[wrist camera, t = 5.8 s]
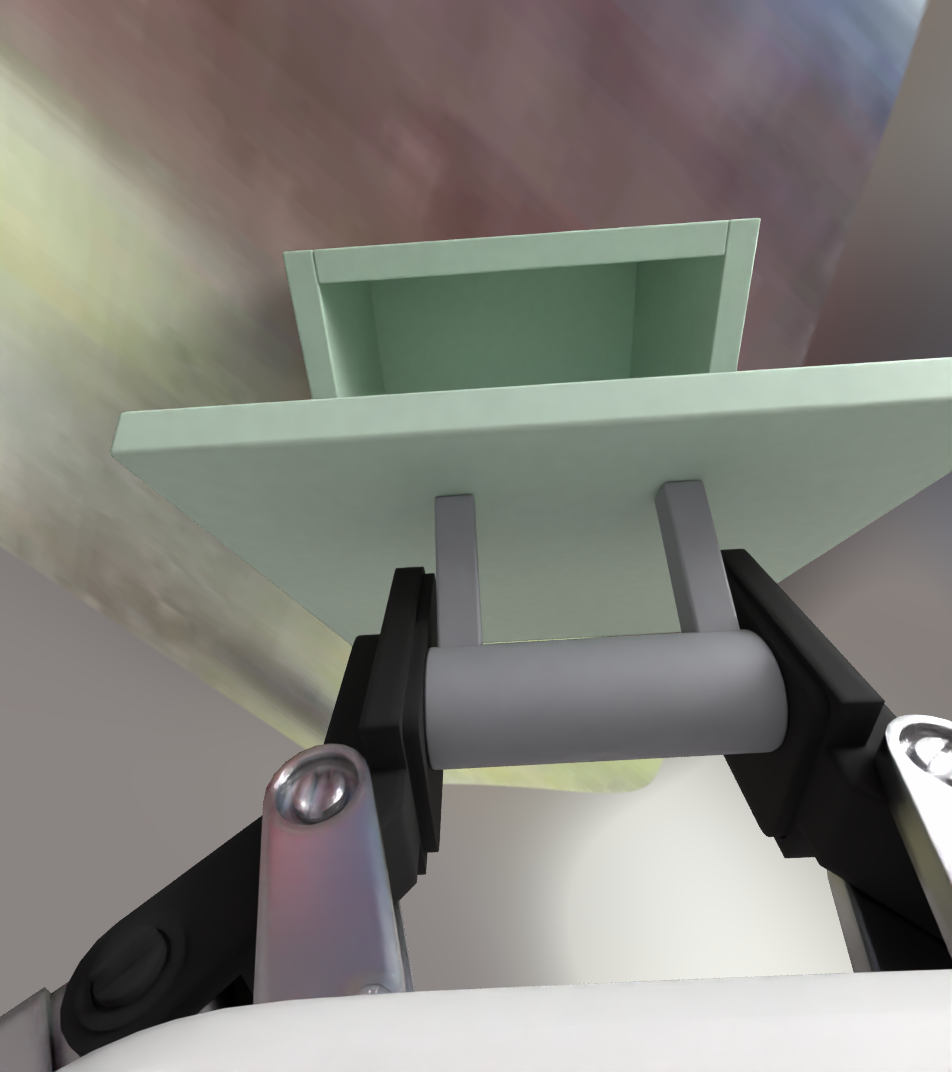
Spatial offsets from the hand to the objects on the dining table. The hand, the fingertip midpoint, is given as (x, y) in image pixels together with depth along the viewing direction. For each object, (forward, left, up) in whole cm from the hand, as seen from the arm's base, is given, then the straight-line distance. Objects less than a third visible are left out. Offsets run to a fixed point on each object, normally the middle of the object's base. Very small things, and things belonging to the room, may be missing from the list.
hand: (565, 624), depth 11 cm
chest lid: (+1, -1, -4) cm, 4 cm away
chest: (0, 0, -19) cm, 19 cm away
